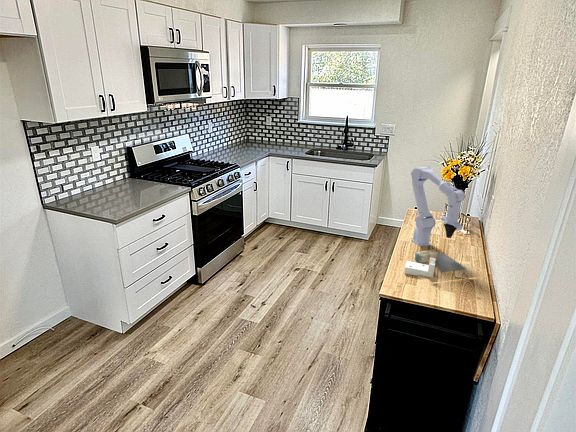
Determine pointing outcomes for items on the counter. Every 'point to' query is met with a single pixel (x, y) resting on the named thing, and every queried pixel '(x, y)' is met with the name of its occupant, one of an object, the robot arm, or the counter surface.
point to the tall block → (426, 255)
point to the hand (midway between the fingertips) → (448, 237)
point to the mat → (447, 263)
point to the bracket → (420, 268)
